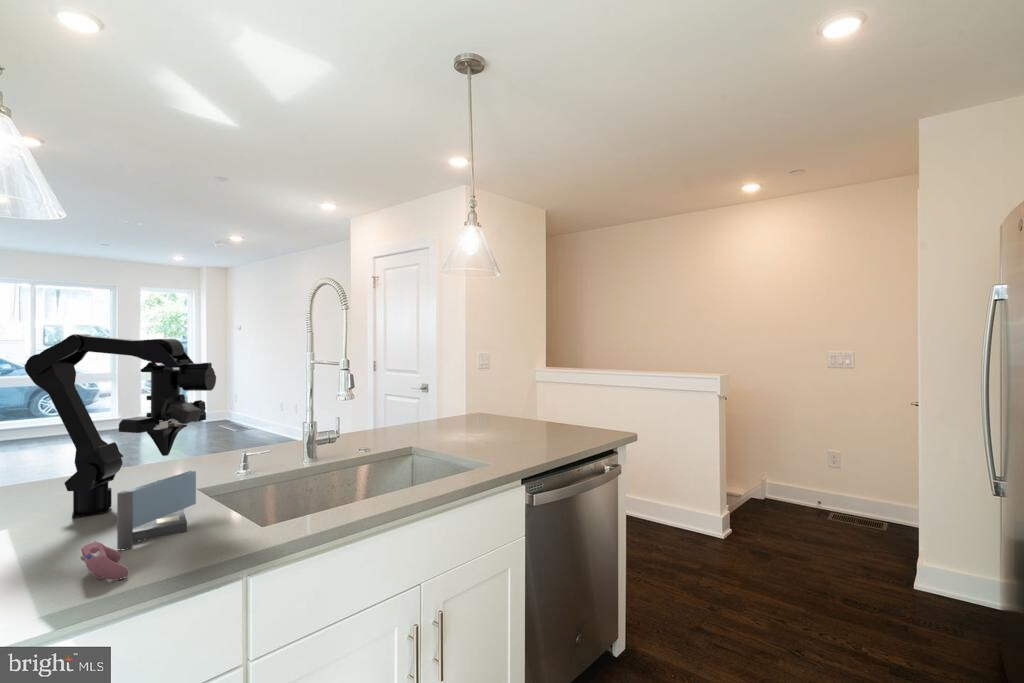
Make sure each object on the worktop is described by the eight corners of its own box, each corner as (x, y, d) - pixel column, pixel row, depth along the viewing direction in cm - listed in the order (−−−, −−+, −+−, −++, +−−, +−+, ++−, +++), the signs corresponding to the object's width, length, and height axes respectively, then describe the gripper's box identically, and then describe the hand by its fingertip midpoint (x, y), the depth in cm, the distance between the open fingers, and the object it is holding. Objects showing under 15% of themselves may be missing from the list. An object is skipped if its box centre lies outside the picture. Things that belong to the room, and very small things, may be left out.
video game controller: (94, 575, 91) (71, 545, 88) (123, 556, 94) (101, 528, 91) (101, 595, 84) (76, 564, 81) (131, 575, 87) (108, 544, 84)
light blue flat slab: (123, 550, 97) (124, 494, 97) (114, 549, 98) (114, 493, 98) (197, 519, 114) (197, 471, 114) (188, 518, 114) (188, 470, 114)
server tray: (121, 544, 100) (122, 533, 100) (123, 517, 114) (123, 508, 114) (187, 531, 107) (187, 521, 107) (180, 507, 121) (180, 498, 121)
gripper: (157, 396, 109) (157, 467, 109) (224, 388, 127) (224, 449, 127) (116, 394, 111) (116, 464, 112) (187, 386, 130) (187, 446, 130)
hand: (165, 455), depth 120 cm, fingers closed
